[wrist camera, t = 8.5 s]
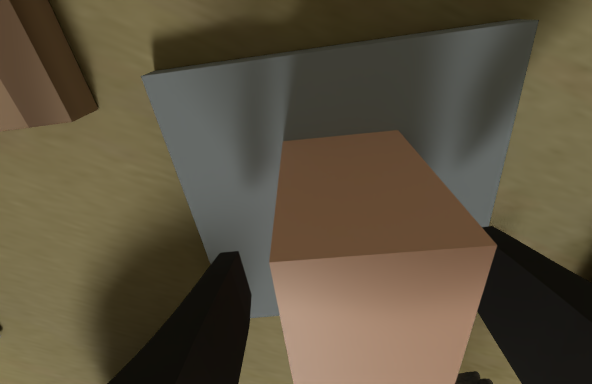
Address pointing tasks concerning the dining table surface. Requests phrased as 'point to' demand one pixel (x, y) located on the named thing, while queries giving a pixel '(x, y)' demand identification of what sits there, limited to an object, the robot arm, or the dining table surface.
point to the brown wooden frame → (38, 69)
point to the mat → (337, 123)
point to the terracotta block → (373, 263)
